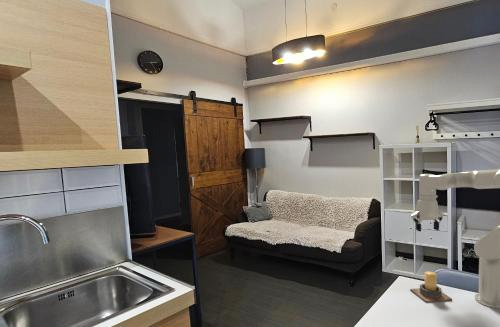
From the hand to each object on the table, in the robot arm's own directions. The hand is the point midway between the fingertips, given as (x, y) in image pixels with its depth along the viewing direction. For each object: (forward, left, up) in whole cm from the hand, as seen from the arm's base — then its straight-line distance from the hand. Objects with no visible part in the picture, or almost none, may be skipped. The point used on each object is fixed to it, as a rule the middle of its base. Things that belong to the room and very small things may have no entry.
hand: (427, 230), depth 162 cm
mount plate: (+7, +13, -28) cm, 32 cm away
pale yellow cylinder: (+7, +13, -28) cm, 31 cm away
